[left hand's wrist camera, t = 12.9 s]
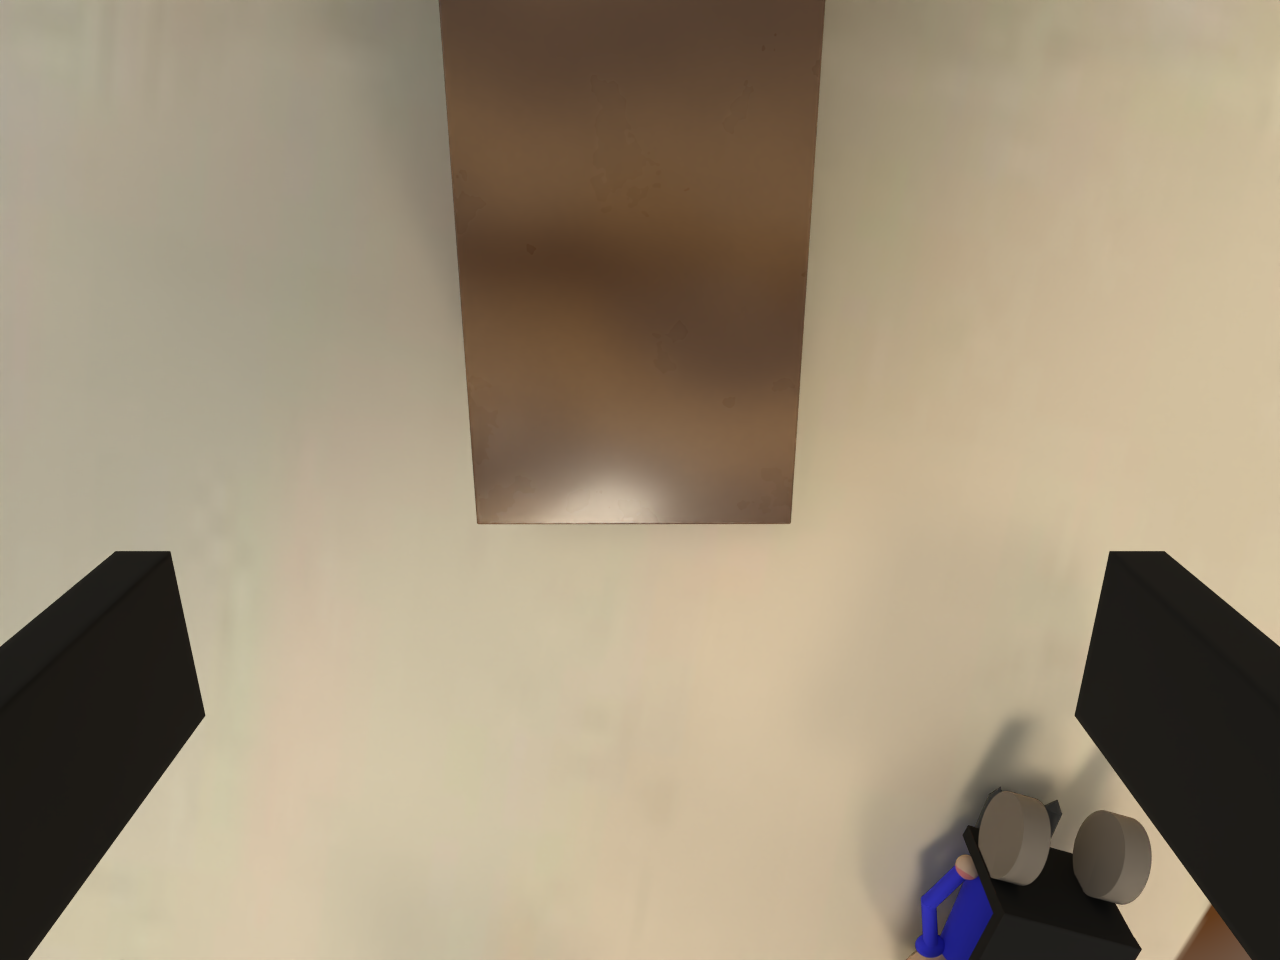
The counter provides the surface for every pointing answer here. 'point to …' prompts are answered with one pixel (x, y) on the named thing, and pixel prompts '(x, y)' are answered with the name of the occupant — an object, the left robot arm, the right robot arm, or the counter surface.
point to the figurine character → (1038, 887)
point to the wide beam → (632, 252)
